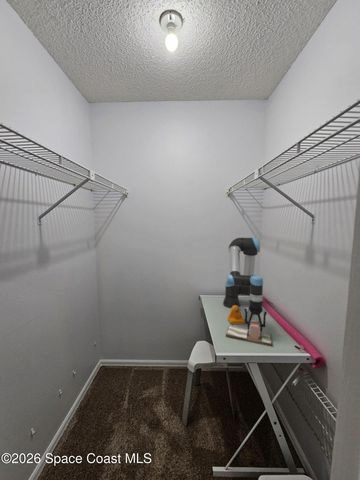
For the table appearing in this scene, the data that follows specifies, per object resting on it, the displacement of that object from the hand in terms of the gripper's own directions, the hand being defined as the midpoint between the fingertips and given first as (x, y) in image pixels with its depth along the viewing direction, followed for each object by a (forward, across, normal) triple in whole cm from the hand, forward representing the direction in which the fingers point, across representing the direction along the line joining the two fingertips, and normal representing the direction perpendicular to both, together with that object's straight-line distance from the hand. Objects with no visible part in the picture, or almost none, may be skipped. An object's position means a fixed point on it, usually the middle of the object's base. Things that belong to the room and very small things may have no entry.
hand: (254, 335), depth 133 cm
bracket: (+2, -14, +18) cm, 23 cm away
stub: (0, 0, 0) cm, 0 cm away
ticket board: (+2, -4, 0) cm, 4 cm away
